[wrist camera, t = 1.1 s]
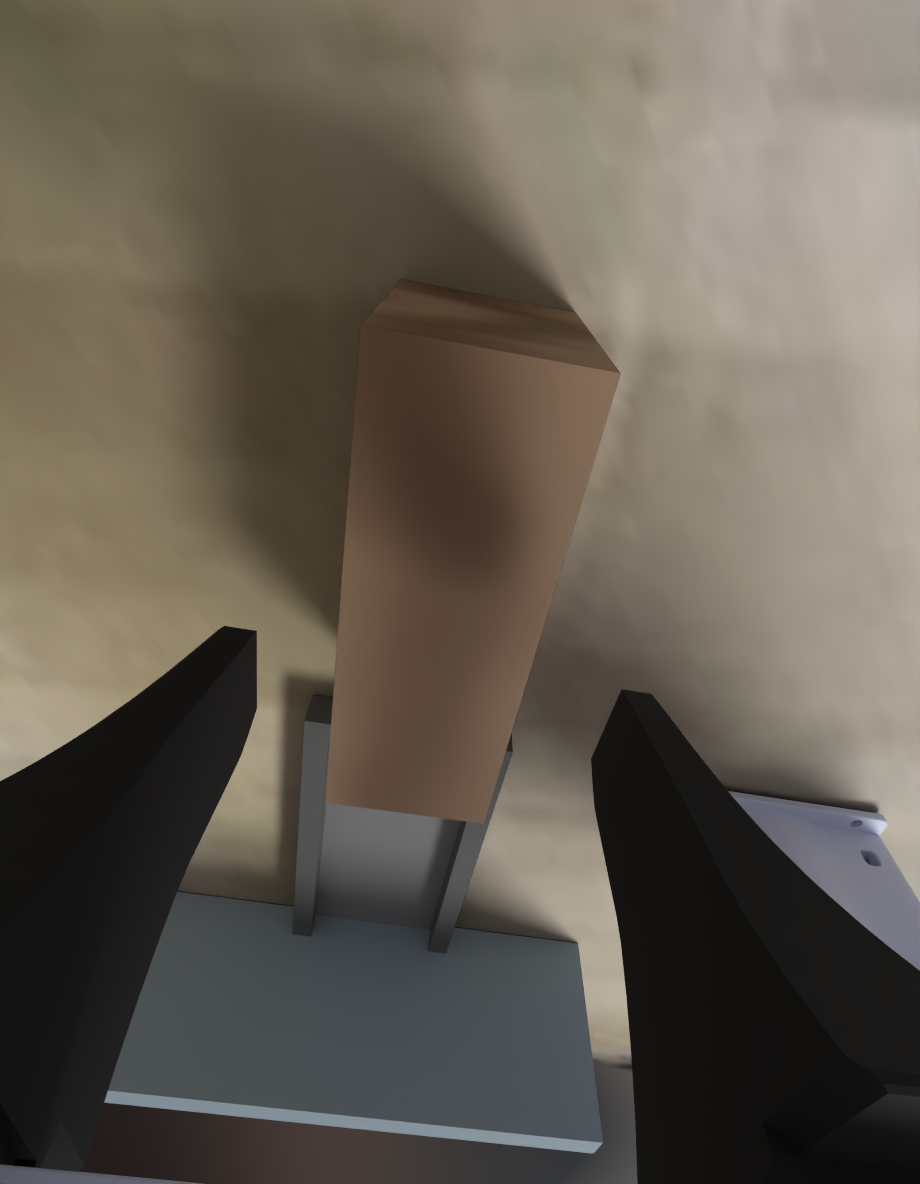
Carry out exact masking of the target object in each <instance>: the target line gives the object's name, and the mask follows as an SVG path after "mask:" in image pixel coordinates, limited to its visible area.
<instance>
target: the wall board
mask: <svg viewBox="0 0 920 1184" xmlns="http://www.w3.org/2000/svg"><path fill="white" fill-rule="evenodd" d="M332 705H333V698H330V697H324V696H317V695H313V697H312V700H311V703H310V706H309V709H308V712H307V715H306V718H305V721H304V739H303V756H302V774H301V792H300V809H299V827H298V844H297V862H296V879H295V897H294V907H292V906H284V905H277V904H269V903H261V902H253V901H246V900H238V899H230V898H222V897H215V896H207V895H199V894H191V893H184V892H177V893H176V896H175V899H174V901H173V904H172V907H171V909H170V912H169V915H168V918H167V920H166V923H165V926H164V928H163V931H162V934H161V936H160V939H159V942H158V945H157V948H156V950H155V953H154V956H153V959H152V962H151V964H150V967H149V970H148V973H147V976H146V979H145V981H144V984H143V987H142V990H141V993H140V996H139V998H138V1001H137V1004H136V1007H135V1010H134V1013H133V1016H132V1019H131V1022H130V1025H129V1028H128V1031H127V1034H126V1037H125V1040H124V1043H123V1046H122V1049H121V1052H120V1055H119V1058H118V1061H117V1064H116V1067H115V1070H114V1073H113V1076H112V1079H111V1083H110V1086H109V1089H108V1092H107V1095H106V1098H105V1102H106V1103H116V1104H125V1105H135V1106H144V1107H154V1108H164V1109H173V1110H183V1111H193V1112H202V1113H212V1114H222V1115H231V1116H240V1117H250V1118H259V1119H269V1120H278V1121H288V1122H298V1123H307V1124H317V1125H327V1126H336V1127H345V1128H355V1129H366V1130H374V1131H384V1132H394V1133H403V1134H413V1135H422V1136H432V1137H441V1138H451V1139H461V1140H470V1141H480V1142H489V1143H499V1144H508V1145H518V1146H527V1147H538V1148H547V1149H556V1150H566V1151H576V1152H585V1153H594V1152H595V1151H596V1150H597V1149H598V1148H599V1147H600V1145H601V1144H602V1143H603V1140H602V1132H601V1124H600V1117H599V1108H598V1100H597V1092H596V1085H595V1076H594V1068H593V1060H592V1052H591V1044H590V1036H589V1028H588V1020H587V1012H586V1004H585V996H584V988H583V980H582V972H581V964H580V956H579V947H578V943H571V942H563V941H555V940H548V939H540V938H532V937H524V936H517V935H509V934H501V933H493V932H486V931H478V930H470V929H462V928H455V925H456V922H457V919H458V916H459V913H460V910H461V907H462V904H463V901H464V898H465V895H466V892H467V889H468V885H469V882H470V879H471V876H472V873H473V870H474V867H475V864H476V861H477V858H478V855H479V852H480V849H481V846H482V843H483V840H484V837H485V834H486V831H487V828H488V825H489V822H490V819H491V816H492V813H493V810H494V807H495V804H496V801H497V798H498V795H499V792H500V789H501V786H502V783H503V780H504V777H505V774H506V770H507V767H508V764H509V761H510V758H511V755H512V752H513V750H512V733H511V736H510V739H509V743H508V746H507V749H506V752H505V756H504V759H503V762H502V766H501V769H500V772H499V775H498V779H497V782H496V785H495V789H494V792H493V795H492V799H491V802H490V805H489V808H488V812H487V815H486V818H485V822H484V824H481V823H474V822H466V821H459V820H451V819H444V818H436V817H429V816H421V815H414V814H406V813H399V812H391V811H384V810H376V809H369V808H361V807H354V806H346V805H339V804H331V803H325V800H326V786H327V773H328V759H329V745H330V732H331V718H332Z"/></svg>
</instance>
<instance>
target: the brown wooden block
mask: <svg viewBox="0 0 920 1184" xmlns="http://www.w3.org/2000/svg"><path fill="white" fill-rule="evenodd" d="M619 377H620V372H619V371H618V369H617V368H616V366H615V365H614V364H613V362H612V361H611V360H610V358H609V357H608V356H607V354H606V353H605V352H604V350H603V349H602V347H601V346H600V345H599V343H598V342H597V341H596V339H595V338H594V337H593V335H592V334H591V333H590V331H589V330H588V329H587V327H586V326H585V324H584V323H583V322H582V320H581V319H580V318H579V316H578V315H577V314H576V312H570V311H565V310H560V309H555V308H549V307H544V306H539V305H534V304H528V303H523V302H518V301H513V300H507V299H502V298H497V297H492V296H486V295H481V294H476V293H471V292H465V291H460V290H455V289H450V288H444V287H439V286H434V285H429V284H423V283H418V282H413V281H408V280H402V279H401V280H400V281H399V282H398V284H397V285H396V286H395V287H394V288H393V289H392V290H391V291H390V293H389V294H388V295H387V296H386V297H385V298H384V299H383V300H382V302H381V303H380V304H379V305H378V306H377V307H376V308H375V309H374V311H373V312H372V313H371V314H370V315H369V316H368V317H367V319H366V320H365V321H364V322H363V323H362V324H361V326H360V339H359V353H358V366H357V380H356V393H355V407H354V420H353V434H352V448H351V461H350V475H349V488H348V502H347V515H346V529H345V542H344V556H343V569H342V583H341V596H340V610H339V624H338V637H337V651H336V664H335V678H334V691H333V705H332V718H331V732H330V745H329V759H328V773H327V786H326V800H325V803H331V804H339V805H346V806H354V807H361V808H369V809H376V810H384V811H391V812H399V813H406V814H414V815H421V816H429V817H436V818H444V819H451V820H459V821H466V822H474V823H481V824H484V822H485V818H486V815H487V812H488V808H489V805H490V802H491V799H492V795H493V792H494V789H495V785H496V782H497V779H498V775H499V772H500V769H501V766H502V762H503V759H504V756H505V752H506V749H507V746H508V743H509V739H510V736H511V733H512V729H513V726H514V723H515V719H516V716H517V713H518V710H519V706H520V703H521V700H522V696H523V693H524V690H525V686H526V683H527V680H528V677H529V673H530V670H531V667H532V663H533V660H534V657H535V654H536V650H537V647H538V644H539V640H540V637H541V634H542V630H543V627H544V624H545V621H546V617H547V614H548V611H549V607H550V604H551V601H552V598H553V594H554V591H555V588H556V584H557V581H558V578H559V574H560V571H561V568H562V565H563V561H564V558H565V555H566V551H567V548H568V545H569V541H570V538H571V535H572V532H573V528H574V525H575V522H576V518H577V515H578V512H579V509H580V505H581V502H582V499H583V495H584V492H585V489H586V485H587V482H588V479H589V476H590V472H591V469H592V466H593V462H594V459H595V456H596V453H597V449H598V446H599V443H600V439H601V436H602V433H603V429H604V426H605V423H606V420H607V416H608V413H609V410H610V406H611V403H612V400H613V396H614V393H615V390H616V387H617V383H618V380H619Z"/></svg>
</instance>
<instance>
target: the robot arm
mask: <svg viewBox="0 0 920 1184" xmlns="http://www.w3.org/2000/svg"><path fill="white" fill-rule="evenodd" d="M256 709H257V631H253V630H247V629H240V628H234V627H228V626H224V627H222V628H220V629H219V630H218V631H216V632H215V633H214V634H213V635H212V636H210V637H209V638H208V639H207V640H206V641H204V642H203V643H202V644H201V645H200V646H198V647H197V648H196V649H195V650H194V651H193V652H191V653H190V654H189V655H188V656H186V657H185V658H184V659H183V660H182V661H180V662H179V663H178V664H177V665H175V666H174V667H173V668H172V669H171V670H169V671H168V672H167V673H165V674H164V675H163V676H162V677H160V678H159V679H158V680H156V681H155V682H154V683H153V684H151V685H150V686H149V687H147V688H146V689H145V690H143V691H142V692H141V693H140V694H138V695H137V696H136V697H134V698H133V699H131V700H130V701H129V702H127V703H126V704H124V705H123V706H122V707H120V708H119V709H117V710H116V711H114V712H113V713H112V714H110V715H109V716H107V717H106V718H104V719H103V720H102V721H100V722H99V723H97V724H96V725H95V726H93V727H92V728H90V729H88V730H87V731H85V732H84V733H82V734H81V735H79V736H78V737H76V738H75V739H73V740H71V741H70V742H68V743H67V744H65V745H63V746H62V747H60V748H59V749H57V750H55V751H54V752H52V753H50V754H49V755H47V756H45V757H43V758H42V759H40V760H38V761H37V762H35V763H33V764H32V765H30V766H28V767H26V768H24V769H22V770H21V771H19V772H17V773H15V774H13V775H11V776H9V777H7V778H6V779H4V780H2V781H0V1184H201V1183H189V1182H180V1181H169V1180H158V1179H148V1178H137V1177H126V1176H116V1175H106V1174H94V1173H85V1172H84V1173H83V1172H79V1171H80V1170H81V1169H82V1168H83V1167H84V1165H85V1162H86V1159H87V1156H88V1152H89V1149H90V1146H91V1142H92V1139H93V1136H94V1133H95V1130H96V1127H97V1124H98V1120H99V1117H100V1114H101V1111H102V1108H103V1104H104V1102H105V1098H106V1095H107V1092H108V1089H109V1086H110V1083H111V1079H112V1076H113V1073H114V1070H115V1067H116V1064H117V1061H118V1058H119V1055H120V1052H121V1049H122V1046H123V1043H124V1040H125V1037H126V1034H127V1031H128V1028H129V1025H130V1022H131V1019H132V1016H133V1013H134V1010H135V1007H136V1004H137V1001H138V998H139V996H140V993H141V990H142V987H143V984H144V981H145V979H146V976H147V973H148V970H149V967H150V964H151V962H152V959H153V956H154V953H155V950H156V948H157V945H158V942H159V939H160V936H161V934H162V931H163V928H164V926H165V923H166V920H167V918H168V915H169V912H170V909H171V907H172V904H173V901H174V899H175V896H176V893H177V891H178V888H179V885H180V883H181V881H182V878H183V876H184V874H185V872H186V869H187V867H188V865H189V862H190V860H191V858H192V856H193V854H194V852H195V850H196V848H197V846H198V844H199V842H200V839H201V837H202V835H203V833H204V831H205V829H206V827H207V825H208V823H209V821H210V819H211V817H212V815H213V813H214V811H215V809H216V807H217V804H218V802H219V800H220V798H221V796H222V794H223V792H224V790H225V788H226V786H227V784H228V782H229V780H230V777H231V775H232V773H233V771H234V769H235V767H236V765H237V763H238V761H239V758H240V756H241V754H242V751H243V748H244V745H245V742H246V739H247V737H248V734H249V731H250V728H251V725H252V721H253V718H254V715H255V712H256ZM591 763H592V780H593V793H594V805H595V812H596V817H597V822H598V827H599V832H600V837H601V842H602V847H603V852H604V857H605V862H606V867H607V872H608V876H609V881H610V886H611V891H612V896H613V901H614V906H615V910H616V915H617V921H618V927H619V933H620V939H621V947H622V957H623V966H624V976H625V985H626V995H627V1007H628V1019H629V1030H630V1042H631V1055H632V1072H633V1088H634V1104H635V1121H636V1148H637V1177H638V1184H920V902H919V900H918V899H917V897H916V895H915V894H914V892H913V891H912V889H911V887H910V886H909V884H908V882H907V881H906V879H905V877H904V876H903V874H902V873H901V871H900V869H899V868H898V866H897V864H896V863H895V861H894V859H893V858H892V856H891V854H890V853H889V851H888V850H887V848H886V846H885V845H884V843H883V841H882V840H881V838H880V836H879V835H880V834H881V833H882V832H883V831H884V830H885V829H886V827H887V825H888V822H887V821H886V819H885V817H884V816H883V815H881V814H878V813H871V812H865V811H858V810H851V809H845V808H838V807H831V806H825V805H818V804H811V803H805V802H798V801H791V800H785V799H778V798H771V797H765V796H758V795H751V794H745V793H738V792H731V791H727V789H726V788H725V787H724V786H723V785H722V783H721V782H720V781H719V780H718V779H717V777H716V776H715V775H714V774H713V772H712V771H711V770H710V769H709V767H708V766H707V765H706V764H705V762H704V761H703V760H702V759H701V757H700V756H699V755H698V754H697V752H696V751H695V750H694V748H693V747H692V746H691V745H690V743H689V742H688V741H687V739H686V738H685V737H684V735H683V734H682V733H681V732H680V730H679V729H678V728H677V726H676V725H675V724H674V722H673V721H672V720H671V718H670V717H669V716H668V715H667V713H666V712H665V711H664V709H663V708H662V707H661V705H660V704H659V703H658V702H657V700H656V699H655V698H654V697H653V695H652V694H648V693H642V692H635V691H629V690H623V689H622V690H621V692H620V694H619V697H618V699H617V701H616V703H615V706H614V708H613V710H612V713H611V715H610V717H609V719H608V722H607V724H606V726H605V729H604V731H603V733H602V735H601V738H600V740H599V742H598V745H597V747H596V749H595V751H594V754H593V756H592V758H591Z"/></svg>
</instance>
